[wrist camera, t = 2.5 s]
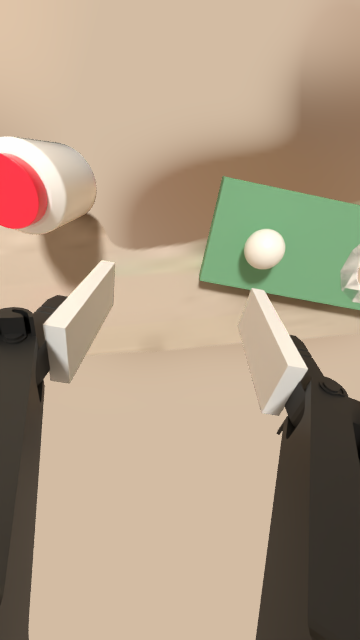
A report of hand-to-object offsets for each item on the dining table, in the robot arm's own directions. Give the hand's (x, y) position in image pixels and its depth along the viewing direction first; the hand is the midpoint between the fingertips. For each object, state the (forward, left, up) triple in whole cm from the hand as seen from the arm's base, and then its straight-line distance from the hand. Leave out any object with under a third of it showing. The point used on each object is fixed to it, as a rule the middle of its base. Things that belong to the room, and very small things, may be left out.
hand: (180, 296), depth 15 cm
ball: (0, +9, -15) cm, 18 cm away
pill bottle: (-2, -15, -19) cm, 25 cm away
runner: (0, +17, -19) cm, 26 cm away
